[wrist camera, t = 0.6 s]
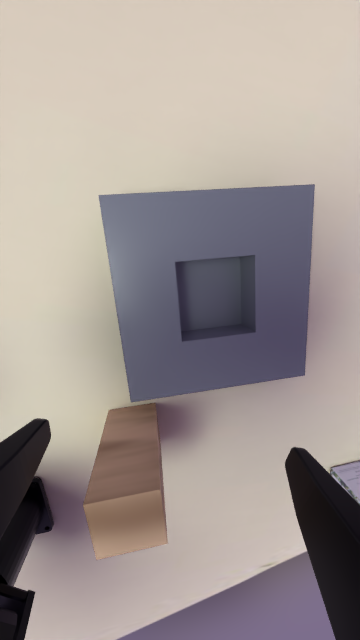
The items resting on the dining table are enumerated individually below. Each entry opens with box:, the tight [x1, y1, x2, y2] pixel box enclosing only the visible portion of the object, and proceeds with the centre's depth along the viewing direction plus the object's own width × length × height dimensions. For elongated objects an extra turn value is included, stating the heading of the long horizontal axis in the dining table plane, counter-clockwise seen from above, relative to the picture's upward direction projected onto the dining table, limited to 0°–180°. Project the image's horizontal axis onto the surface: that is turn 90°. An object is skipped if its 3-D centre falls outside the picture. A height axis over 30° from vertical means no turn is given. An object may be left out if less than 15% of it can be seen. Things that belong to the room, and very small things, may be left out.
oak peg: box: [83, 403, 168, 560], centre depth 18 cm, size 4×4×9 cm
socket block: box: [99, 184, 315, 402], centre depth 19 cm, size 15×15×4 cm
